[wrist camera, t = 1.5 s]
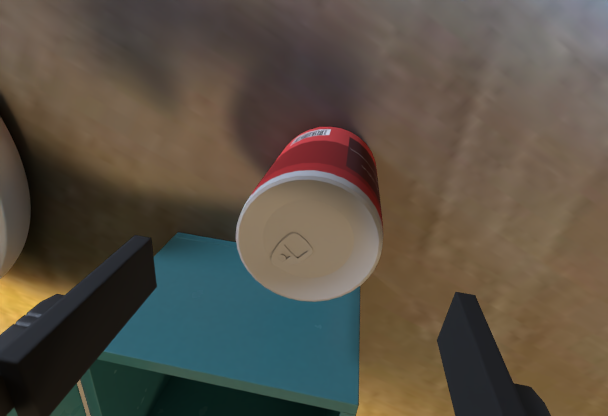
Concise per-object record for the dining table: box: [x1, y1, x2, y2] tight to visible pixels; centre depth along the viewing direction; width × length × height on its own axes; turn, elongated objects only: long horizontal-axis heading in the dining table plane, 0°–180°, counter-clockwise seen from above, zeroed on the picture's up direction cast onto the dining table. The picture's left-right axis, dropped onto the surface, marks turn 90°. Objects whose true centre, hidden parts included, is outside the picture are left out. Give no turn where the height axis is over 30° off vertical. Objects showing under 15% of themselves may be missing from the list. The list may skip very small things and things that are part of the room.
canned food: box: [236, 127, 383, 302], centre depth 23 cm, size 8×8×11 cm
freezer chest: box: [80, 232, 360, 416], centre depth 29 cm, size 17×15×14 cm
